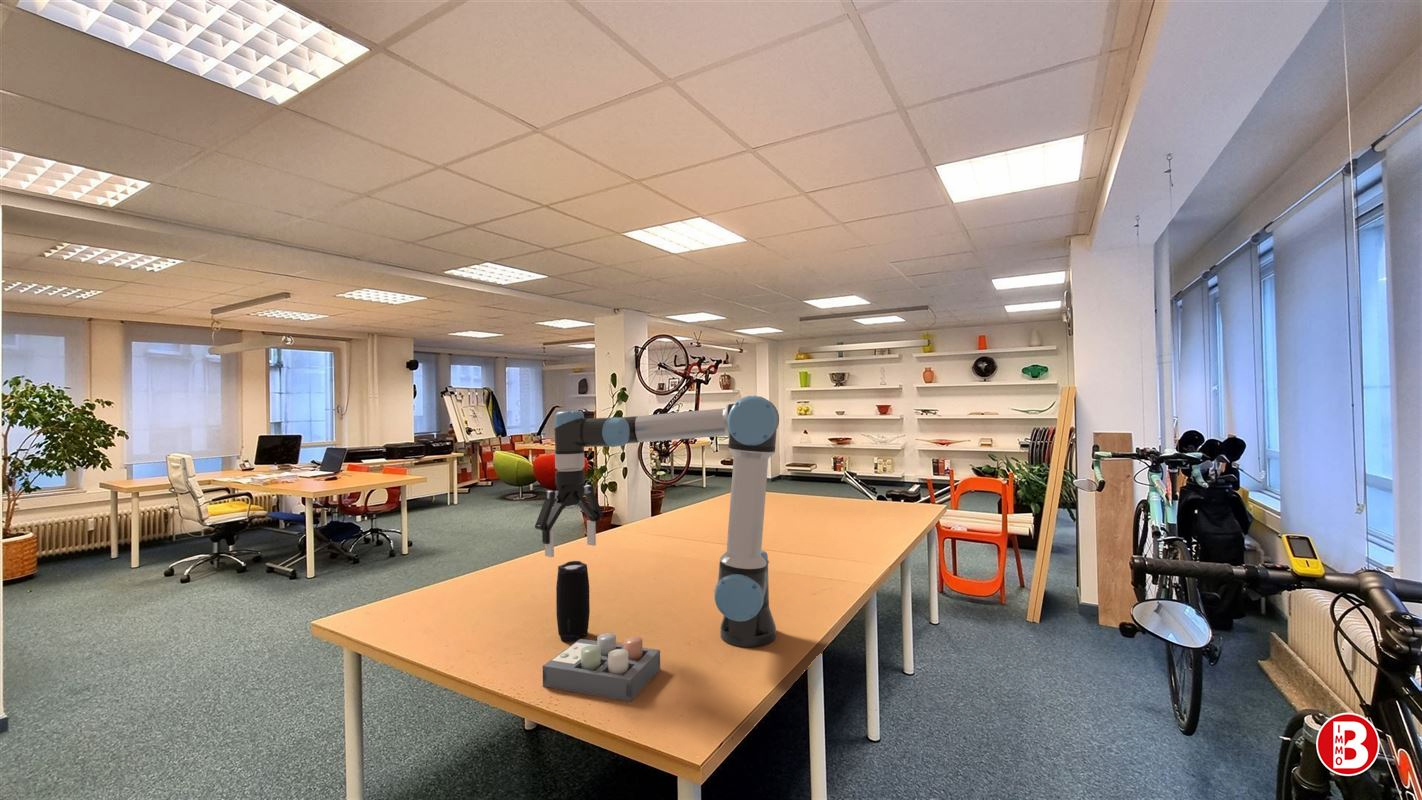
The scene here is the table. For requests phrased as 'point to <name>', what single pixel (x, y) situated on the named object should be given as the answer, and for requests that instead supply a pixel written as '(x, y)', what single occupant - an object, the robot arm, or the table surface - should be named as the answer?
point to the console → (599, 673)
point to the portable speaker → (572, 600)
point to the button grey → (606, 643)
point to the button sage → (591, 657)
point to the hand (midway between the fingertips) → (571, 550)
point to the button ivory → (618, 662)
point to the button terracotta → (634, 648)
